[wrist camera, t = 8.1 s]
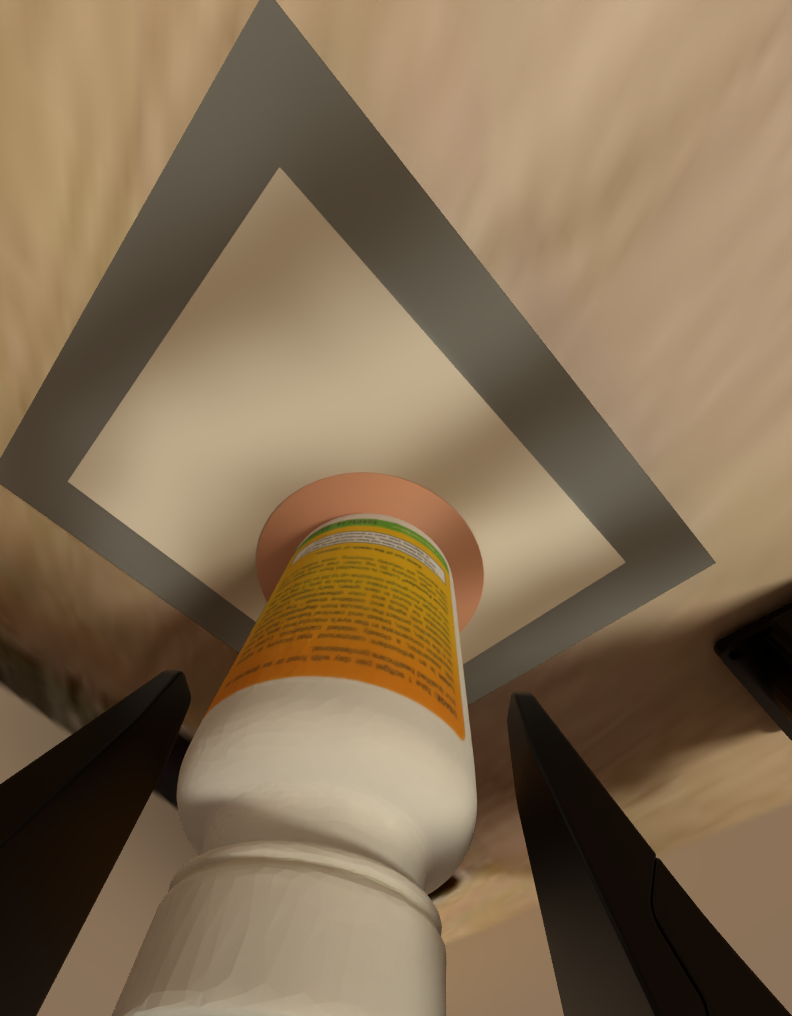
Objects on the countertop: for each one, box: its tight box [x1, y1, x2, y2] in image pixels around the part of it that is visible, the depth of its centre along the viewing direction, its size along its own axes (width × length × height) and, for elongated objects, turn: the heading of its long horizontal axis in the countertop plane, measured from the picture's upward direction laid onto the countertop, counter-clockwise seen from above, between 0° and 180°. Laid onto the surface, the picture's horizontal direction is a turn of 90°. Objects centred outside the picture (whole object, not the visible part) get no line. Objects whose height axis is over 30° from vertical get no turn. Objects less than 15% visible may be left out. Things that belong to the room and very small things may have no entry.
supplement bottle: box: [112, 513, 477, 1016], centre depth 9 cm, size 5×5×10 cm
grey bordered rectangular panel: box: [0, 0, 716, 705], centre depth 13 cm, size 18×15×1 cm
